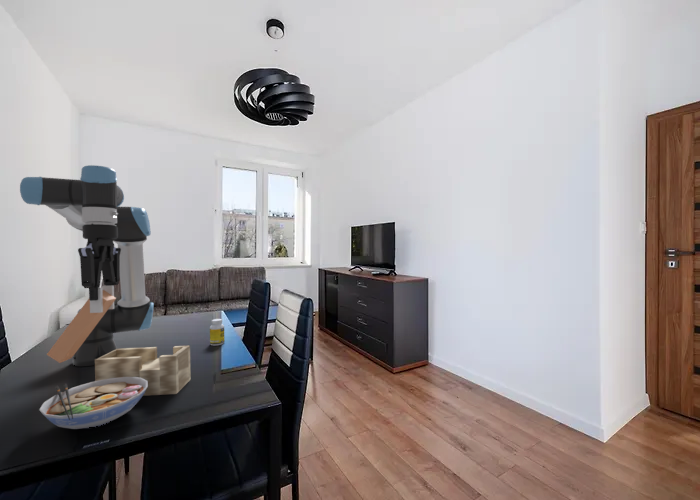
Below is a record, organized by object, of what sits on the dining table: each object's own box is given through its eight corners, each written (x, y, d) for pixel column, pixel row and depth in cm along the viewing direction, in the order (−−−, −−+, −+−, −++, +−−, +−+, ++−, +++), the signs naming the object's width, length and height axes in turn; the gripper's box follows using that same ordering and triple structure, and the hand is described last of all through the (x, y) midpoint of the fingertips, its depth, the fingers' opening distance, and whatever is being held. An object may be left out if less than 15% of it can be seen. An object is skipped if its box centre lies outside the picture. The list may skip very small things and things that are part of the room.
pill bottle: (219, 346, 150) (218, 321, 150) (207, 345, 151) (206, 321, 151) (227, 342, 156) (226, 318, 156) (215, 341, 157) (215, 318, 157)
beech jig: (95, 398, 99) (94, 359, 99) (118, 383, 110) (117, 348, 110) (176, 393, 101) (175, 356, 101) (190, 379, 112) (189, 345, 112)
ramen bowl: (159, 421, 85) (159, 391, 85) (40, 463, 69) (39, 425, 69) (138, 392, 103) (137, 366, 103) (39, 420, 87) (38, 390, 87)
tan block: (60, 363, 84) (46, 354, 84) (71, 357, 88) (58, 349, 88) (106, 300, 85) (93, 292, 84) (116, 298, 89) (103, 290, 88)
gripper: (92, 221, 78) (95, 316, 78) (133, 226, 95) (135, 304, 95) (59, 222, 78) (62, 318, 78) (106, 226, 95) (108, 305, 95)
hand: (102, 310), depth 87 cm, fingers closed on tan block, 4 cm apart
